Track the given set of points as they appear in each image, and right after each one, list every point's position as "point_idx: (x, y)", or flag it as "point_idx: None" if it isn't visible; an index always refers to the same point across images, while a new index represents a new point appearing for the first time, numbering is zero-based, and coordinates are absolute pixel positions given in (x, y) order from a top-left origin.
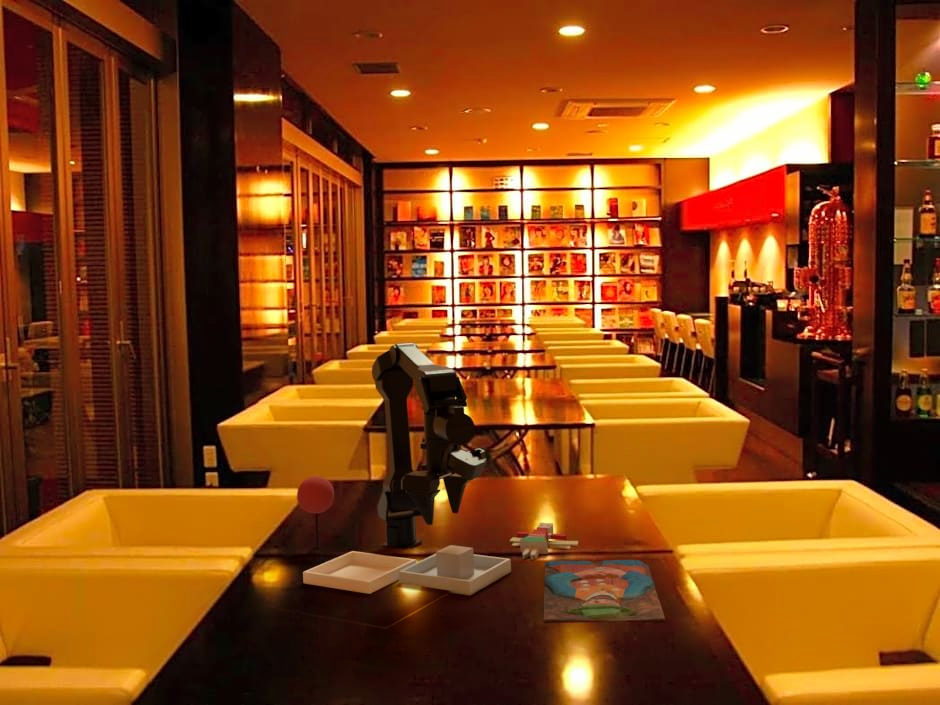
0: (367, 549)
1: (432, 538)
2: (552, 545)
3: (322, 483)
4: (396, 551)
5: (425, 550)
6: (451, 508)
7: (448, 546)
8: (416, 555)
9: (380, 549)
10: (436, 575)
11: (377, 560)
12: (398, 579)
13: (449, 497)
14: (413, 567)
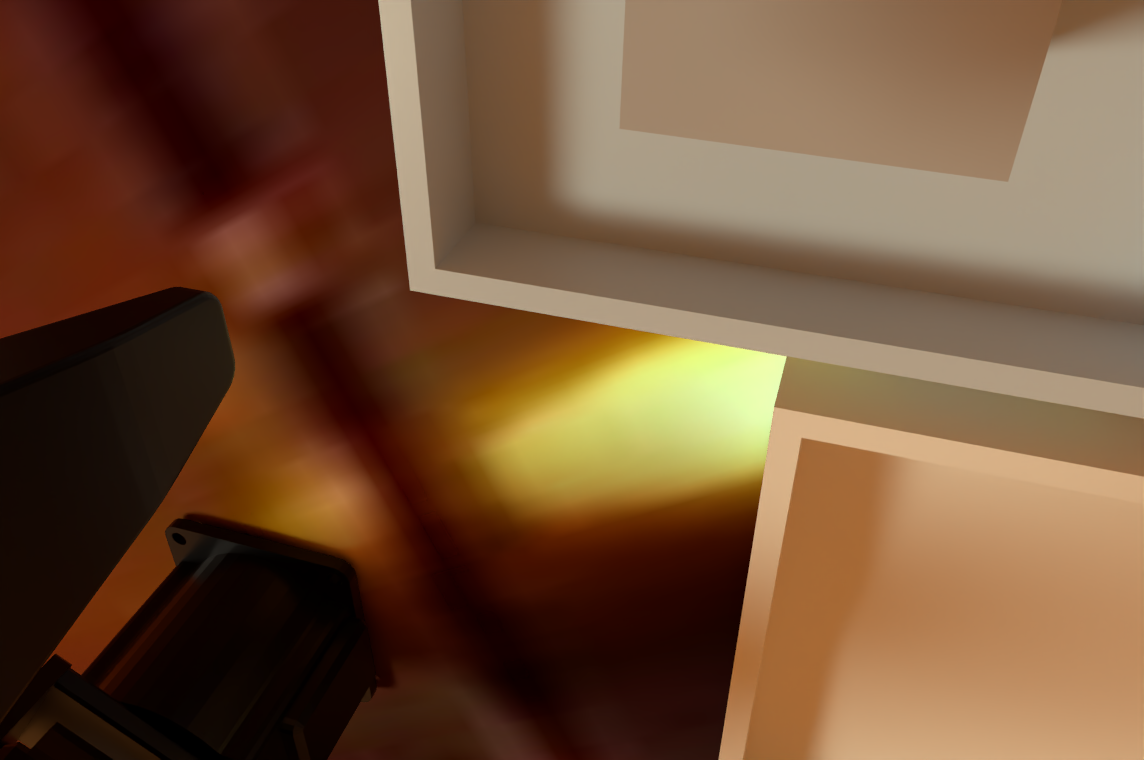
0: (443, 738)
1: None
2: None
3: None
4: (393, 603)
5: (279, 456)
6: (196, 436)
7: (693, 127)
8: (399, 475)
9: (407, 684)
10: None
11: (760, 664)
12: None
13: (42, 621)
14: (1004, 355)
